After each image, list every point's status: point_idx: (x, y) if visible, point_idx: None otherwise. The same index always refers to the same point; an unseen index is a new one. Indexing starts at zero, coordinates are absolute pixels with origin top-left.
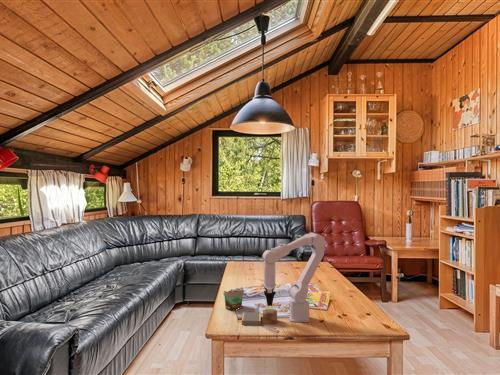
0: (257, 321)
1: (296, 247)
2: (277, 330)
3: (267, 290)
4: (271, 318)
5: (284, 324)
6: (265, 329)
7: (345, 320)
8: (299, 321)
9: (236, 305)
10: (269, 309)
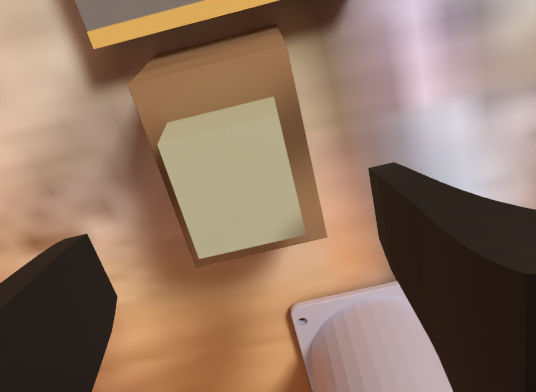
0: (79, 4)
1: None
2: (66, 236)
3: (459, 293)
4: None
5: (221, 267)
6: (28, 123)
7: None
8: (306, 368)
9: None
10: (179, 199)
